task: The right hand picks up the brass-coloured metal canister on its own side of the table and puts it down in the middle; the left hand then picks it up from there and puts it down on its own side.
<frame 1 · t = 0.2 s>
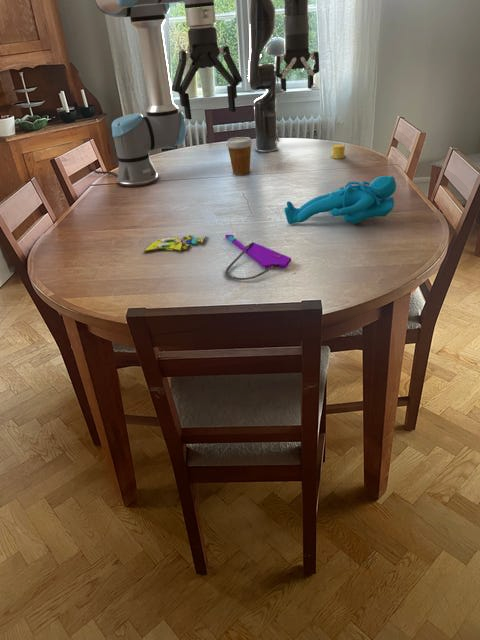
left hand: (210, 115, 136), 28 cm above the table, tool pointing down, fingers open, 13 cm apart
right hand: (297, 89, 157), 29 cm above the table, tool pointing down, fingers open, 8 cm apart
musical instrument: (244, 260, 119), on the table
toy: (337, 221, 135), on the table
toy 2: (176, 245, 130), on the table
canister: (338, 157, 191), on the table
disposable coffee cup: (241, 172, 183), on the table
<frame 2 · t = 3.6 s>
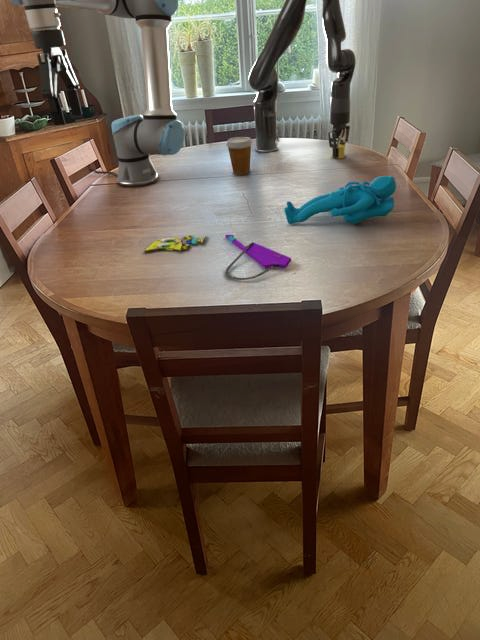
left hand: (69, 119, 132), 31 cm above the table, tool pointing down, fingers open, 13 cm apart
right hand: (338, 155, 191), 0 cm above the table, tool pointing down, fingers closed on canister, 4 cm apart
canister: (338, 157, 191), on the table, touching right hand
everything else where it was.
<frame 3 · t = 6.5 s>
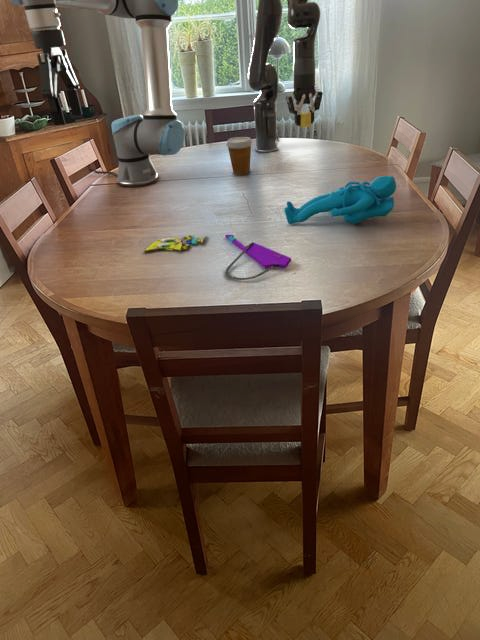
left hand: (69, 119, 132), 31 cm above the table, tool pointing down, fingers open, 13 cm apart
right hand: (304, 124, 174), 16 cm above the table, tool pointing down, fingers closed on canister, 4 cm apart
canister: (304, 125, 174), point 15 cm above the table, touching right hand
everything else where it was.
when the right hand's fingers open (1 cm above the table, at t = 9.5 s): canister stays where it is, on the table.
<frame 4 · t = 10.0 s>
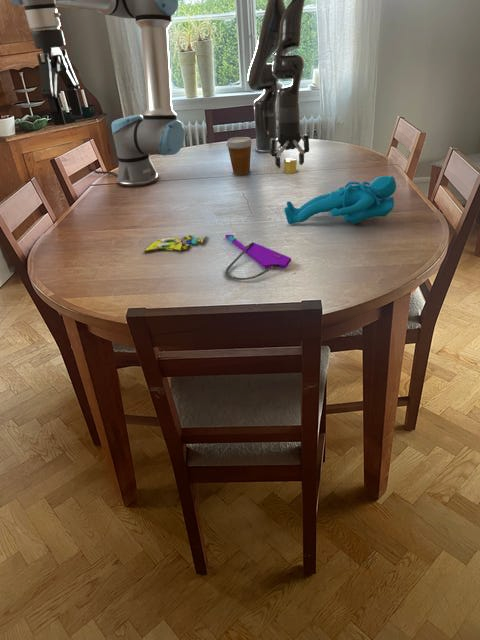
left hand: (69, 119, 132), 31 cm above the table, tool pointing down, fingers open, 13 cm apart
right hand: (289, 165, 178), 2 cm above the table, tool pointing down, fingers open, 8 cm apart
canister: (290, 171, 179), on the table
everything else where it was.
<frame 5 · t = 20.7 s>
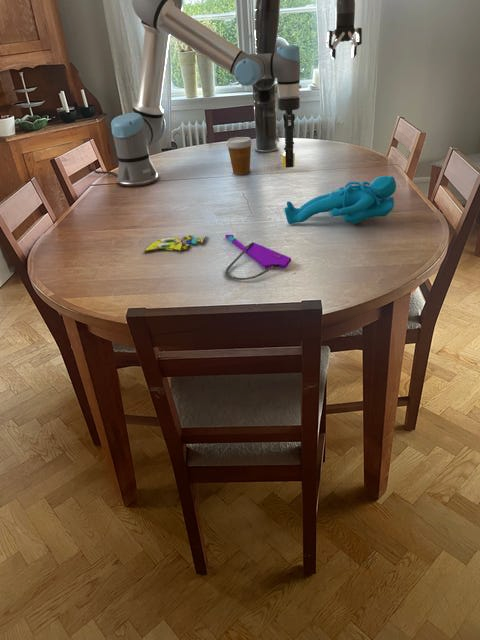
left hand: (289, 165, 178), 2 cm above the table, tool pointing down, fingers closed on canister, 5 cm apart
right hand: (343, 58, 199), 32 cm above the table, tool pointing down, fingers open, 8 cm apart
canister: (288, 165, 178), point 2 cm above the table, touching left hand
everything else where it was.
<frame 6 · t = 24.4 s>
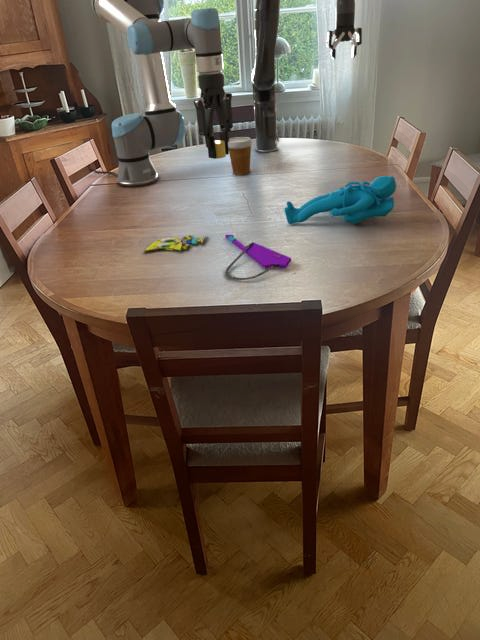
left hand: (218, 155, 150), 15 cm above the table, tool pointing down, fingers closed on canister, 5 cm apart
right hand: (343, 58, 199), 32 cm above the table, tool pointing down, fingers open, 8 cm apart
canister: (218, 156, 150), point 14 cm above the table, touching left hand
everything else where it was.
when the left hand's fingers open (0 cm above the table, at t = 28.2 s): canister stays where it is, on the table.
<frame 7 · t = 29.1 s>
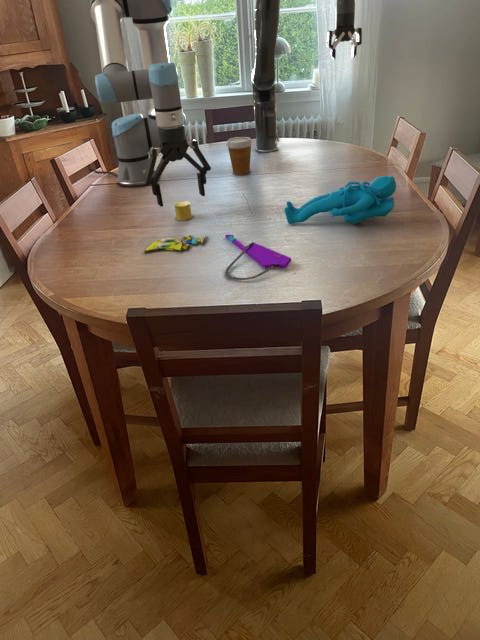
left hand: (181, 200, 145), 5 cm above the table, tool pointing down, fingers open, 13 cm apart
right hand: (343, 58, 199), 32 cm above the table, tool pointing down, fingers open, 8 cm apart
canister: (184, 217, 147), on the table
everything else where it was.
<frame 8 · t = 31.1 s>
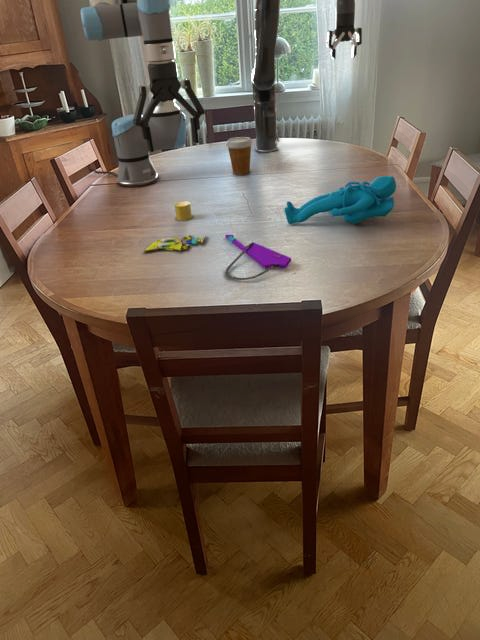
left hand: (173, 146, 136), 21 cm above the table, tool pointing down, fingers open, 13 cm apart
right hand: (343, 58, 199), 32 cm above the table, tool pointing down, fingers open, 8 cm apart
nothing on the table moved.
at the end: canister inside the target area (0.3 cm from its centre), on the table; canister tilted 0°; the two hands never held the canister at the same time; the left hand is holding nothing; the right hand is holding nothing; canister at rest at the end (0.0 cm/s) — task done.
